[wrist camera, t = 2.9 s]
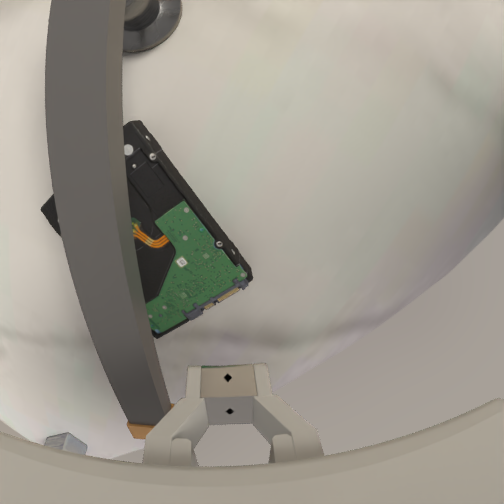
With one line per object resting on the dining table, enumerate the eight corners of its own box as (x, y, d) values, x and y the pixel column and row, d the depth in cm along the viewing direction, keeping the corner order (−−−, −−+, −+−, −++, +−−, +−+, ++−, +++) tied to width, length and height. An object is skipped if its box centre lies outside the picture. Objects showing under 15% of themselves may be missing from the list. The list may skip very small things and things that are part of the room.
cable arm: (144, -58, 8) (132, -80, 6) (181, 417, 22) (179, 441, 20) (72, -39, 8) (53, -55, 6) (135, 414, 22) (130, 437, 19)
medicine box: (65, 448, 39) (55, 486, 32) (46, 435, 37) (34, 473, 30) (88, 445, 38) (78, 487, 30) (67, 431, 36) (55, 474, 28)
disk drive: (54, 200, 22) (162, 323, 28) (37, 211, 19) (156, 342, 25) (141, 116, 20) (254, 266, 26) (129, 117, 17) (257, 283, 23)
